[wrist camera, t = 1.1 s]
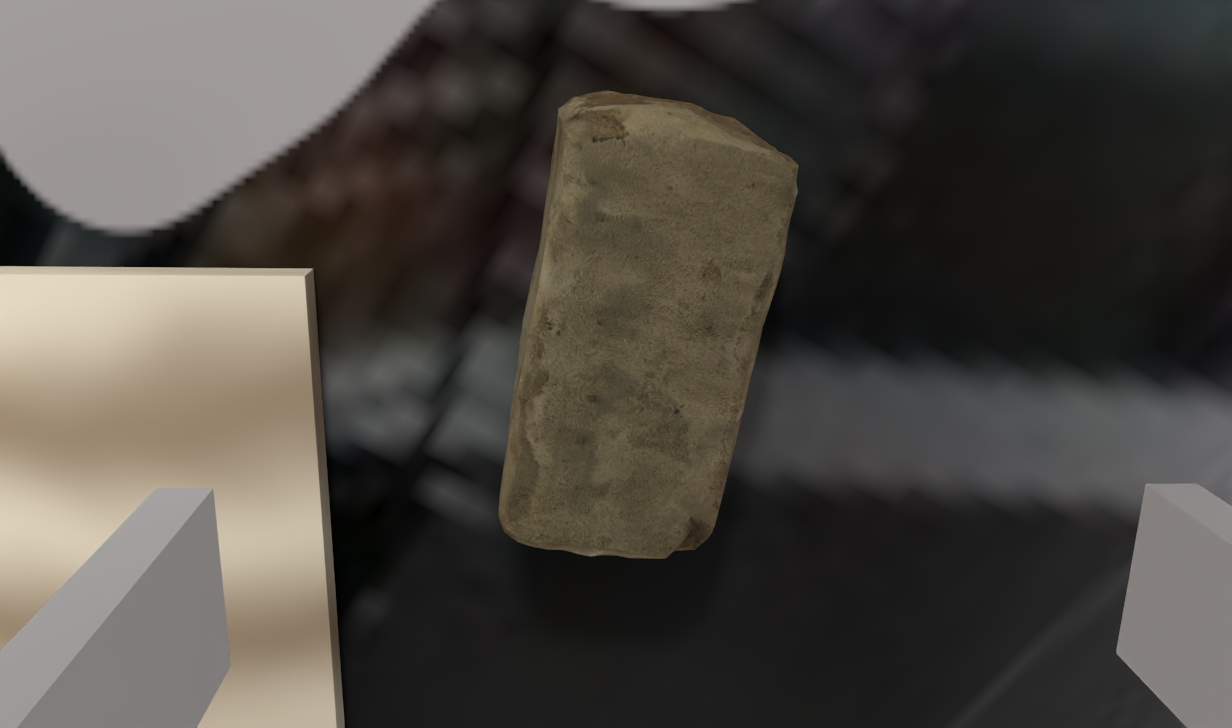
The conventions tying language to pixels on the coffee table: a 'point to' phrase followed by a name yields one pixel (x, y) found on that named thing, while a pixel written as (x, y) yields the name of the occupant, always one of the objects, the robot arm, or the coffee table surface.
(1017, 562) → the coffee table surface
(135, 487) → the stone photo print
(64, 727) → the robot arm
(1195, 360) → the coffee table surface
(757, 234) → the stone block
